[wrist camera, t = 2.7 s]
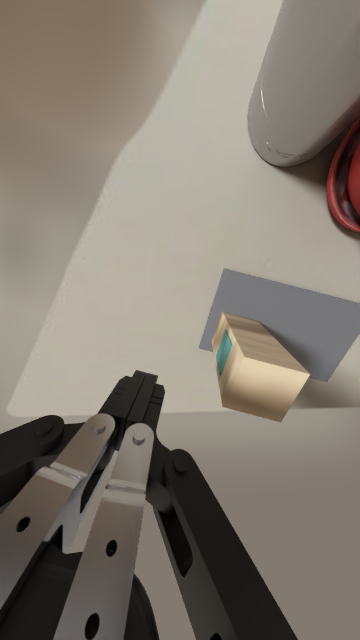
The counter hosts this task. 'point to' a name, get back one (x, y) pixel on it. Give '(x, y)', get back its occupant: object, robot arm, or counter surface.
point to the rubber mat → (289, 319)
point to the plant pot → (346, 180)
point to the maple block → (255, 369)
